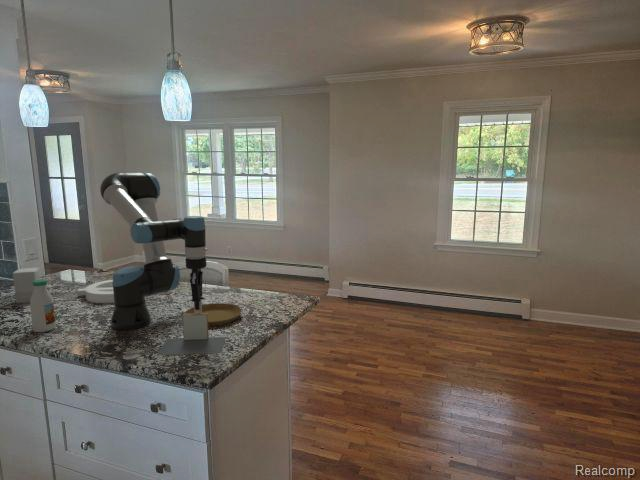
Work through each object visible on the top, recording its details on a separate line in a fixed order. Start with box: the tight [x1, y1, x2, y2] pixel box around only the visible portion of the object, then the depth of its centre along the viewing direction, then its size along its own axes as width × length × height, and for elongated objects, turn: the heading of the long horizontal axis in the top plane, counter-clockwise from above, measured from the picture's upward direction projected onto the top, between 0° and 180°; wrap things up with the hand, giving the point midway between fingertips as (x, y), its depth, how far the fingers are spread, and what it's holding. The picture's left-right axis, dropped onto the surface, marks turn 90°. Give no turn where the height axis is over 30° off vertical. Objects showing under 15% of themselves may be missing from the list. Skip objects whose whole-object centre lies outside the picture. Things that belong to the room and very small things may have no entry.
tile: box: [182, 313, 210, 340], centre depth 155 cm, size 9×1×10 cm, turn 96°
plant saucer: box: [184, 302, 243, 327], centre depth 179 cm, size 24×24×3 cm
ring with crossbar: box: [76, 279, 114, 304], centre depth 211 cm, size 28×28×5 cm
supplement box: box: [12, 267, 42, 304], centre depth 199 cm, size 9×9×15 cm
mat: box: [156, 336, 227, 356], centre depth 150 cm, size 22×14×1 cm, turn 96°
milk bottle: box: [29, 278, 57, 333], centre depth 163 cm, size 8×8×20 cm
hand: (198, 316), depth 160 cm, fingers closed
